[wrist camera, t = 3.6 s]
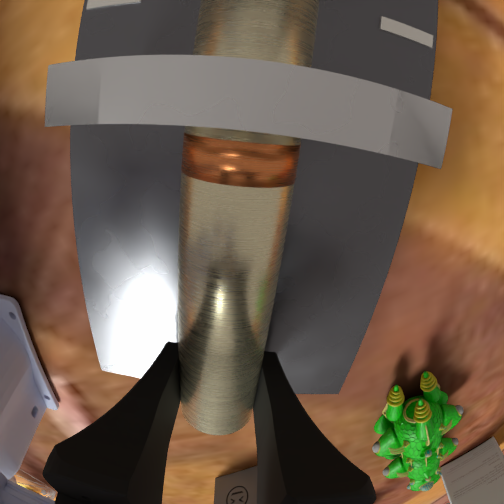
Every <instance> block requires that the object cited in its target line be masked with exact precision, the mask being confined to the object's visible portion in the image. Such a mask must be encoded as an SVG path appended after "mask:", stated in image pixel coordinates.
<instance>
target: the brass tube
mask: <svg viewBox="0 0 504 504" xmlns="http://www.w3.org/2000/svg"><path fill="white" fill-rule="evenodd" d="M318 9H319V0H201V4H200V10H199V16H198V23H197V29H196V36H195V43H194V50H193V55H205V56H222V57H235V58H246V59H255V60H264V61H272V62H279V63H286V64H292V65H298V66H304V67H309V68H311V66H312V58H313V51H314V42H315V34H316V26H317V17H318ZM300 147H301V138H297V137H290V136H283V135H276V134H269V133H261V132H252V131H243V130H233V129H223V128H211V127H197V126H185V131H184V139H183V151H182V165H181V188H180V208H179V236H178V348H179V374H180V394H181V409H182V413H183V416H184V418H185V419H186V421H187V422H188V423H189V424H190V425H191V426H192V427H194V428H195V429H197V430H199V431H201V432H204V433H207V434H211V435H226V434H231V433H234V432H236V431H238V430H240V429H241V428H243V427H244V426H245V425H246V424H247V423H248V421H249V419H250V417H251V413H252V409H253V404H254V399H255V395H256V390H257V385H258V380H259V375H260V370H261V365H262V361H263V356H264V351H265V345H266V340H267V335H268V330H269V325H270V320H271V314H272V309H273V304H274V299H275V293H276V288H277V282H278V277H279V271H280V266H281V260H282V254H283V249H284V243H285V237H286V231H287V225H288V220H289V214H290V208H291V202H292V195H293V189H294V183H295V179H296V173H297V166H298V160H299V153H300Z"/></svg>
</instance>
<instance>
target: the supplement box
mask: <svg viewBox="0 0 504 504" xmlns="http://www.w3.org/2000/svg"><path fill="white" fill-rule="evenodd" d="M440 469H441V472H442V475H441V476H442V480H443V483H444V486H445V489H446V492H447V495H448V498H449V501H450V504H504V455H503V453H502V451H501V449H500V447H499V445H498V443H497V441H496V439H495V438H494V436H493V437H492V438H490V439H489V440H487V441H486V442H484V443H483V444H481V445H479V446H478V447H476V448H475V449H473V450H471V451H470V452H468V453H466V454H464V455H463V456H461V457H459V458H457V459H456V460H454V461H452V462H450V463H448V464H446V465H444V466H442V467H441V468H440Z"/></svg>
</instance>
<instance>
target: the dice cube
mask: <svg viewBox="0 0 504 504" xmlns="http://www.w3.org/2000/svg"><path fill="white" fill-rule="evenodd" d="M214 504H257V466H254V467H251V468H248V469H245V470H242V471H239V472H236V473H232V474H229V475H225V476H222V477H218V478H215V494H214Z"/></svg>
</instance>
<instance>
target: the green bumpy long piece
mask: <svg viewBox="0 0 504 504" xmlns="http://www.w3.org/2000/svg"><path fill="white" fill-rule="evenodd" d="M420 387H421V389H422V390H423V396H415V397H412V398H410V399H408V400H406V401H405V402H404V395H403V391H402V389H401V387H400V386H398V385H395V386H393V387H392V388H391V390H390V392H389V394H388V396H387V404H386V407H385V408H384V410H383V411H382V413H383V415H382V416H381V417H380V418H379V419H378V421H377V422H376V424H375V426H374V430H375V432H377V433H378V434H383V435H382V436H381V437H380V439H379V440H378V441H377V442H376V443H375V444H374V445H373V448H372V449H373V451H374V452H375V454H376V455H377V456H382V457H385V458H387V459H394V460H393V461H392V462H391V463H390V464H389V465H388V466H387V467H386V468H385V469H384V470H383V475H384V476H385V477H386V478H398V477H405V476H408V477H409V478H410V483H409V485H408V486H407V489H410V490H412V491H419V490H422V491H428V490H430V489H431V488H432V487H433V484H435V483H436V482H437V481H438V479H439V478H440V476H441V475H442V472H441V469H440V468H439V463H440V461H442V460H444V459H445V458H446V457H447V456H448V455H450V454H451V453H452V452H453V451H454V450H455V449H456V447H457V444H458V439H457V438H442V437H443V436H444V435H445V433H446V432H448V431H449V430H450V429H452V428H453V427H454V426H455V425H457V424H458V422H459V421H460V420H461V418H462V413H463V407H462V406H460V405H457V406H454V405H449V404H447V401H448V396H447V394H446V393H445V392H443V391H440V385H438V383H437V379H436V377H435V376H434V375H433V374H432V373H431V372H428V371H424V373H423V374H422V376H421V382H420ZM403 402H404V403H403ZM387 405H388V406H387ZM384 411H385V412H386V414H384ZM400 455H401V457H399V456H400ZM439 470H440V471H439Z"/></svg>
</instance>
